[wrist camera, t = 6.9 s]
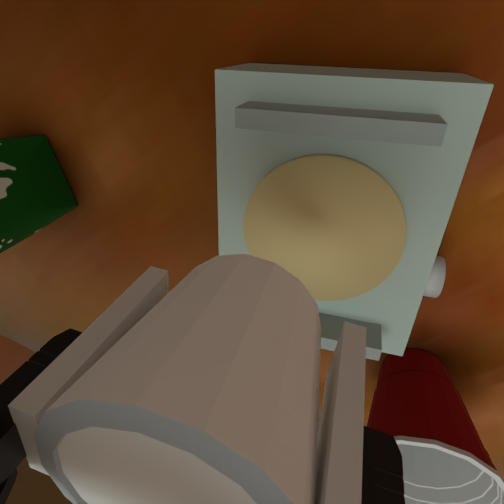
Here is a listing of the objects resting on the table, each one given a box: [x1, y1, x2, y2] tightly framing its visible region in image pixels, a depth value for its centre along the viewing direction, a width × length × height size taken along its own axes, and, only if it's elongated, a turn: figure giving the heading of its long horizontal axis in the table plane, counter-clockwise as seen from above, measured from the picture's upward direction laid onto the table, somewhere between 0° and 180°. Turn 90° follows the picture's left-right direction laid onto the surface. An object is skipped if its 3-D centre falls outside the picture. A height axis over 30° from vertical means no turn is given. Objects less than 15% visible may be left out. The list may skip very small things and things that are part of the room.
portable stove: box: [215, 63, 494, 361], centre depth 25 cm, size 18×16×10 cm
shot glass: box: [33, 254, 321, 504], centre depth 11 cm, size 7×7×7 cm
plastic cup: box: [367, 349, 504, 504], centre depth 31 cm, size 11×11×12 cm
